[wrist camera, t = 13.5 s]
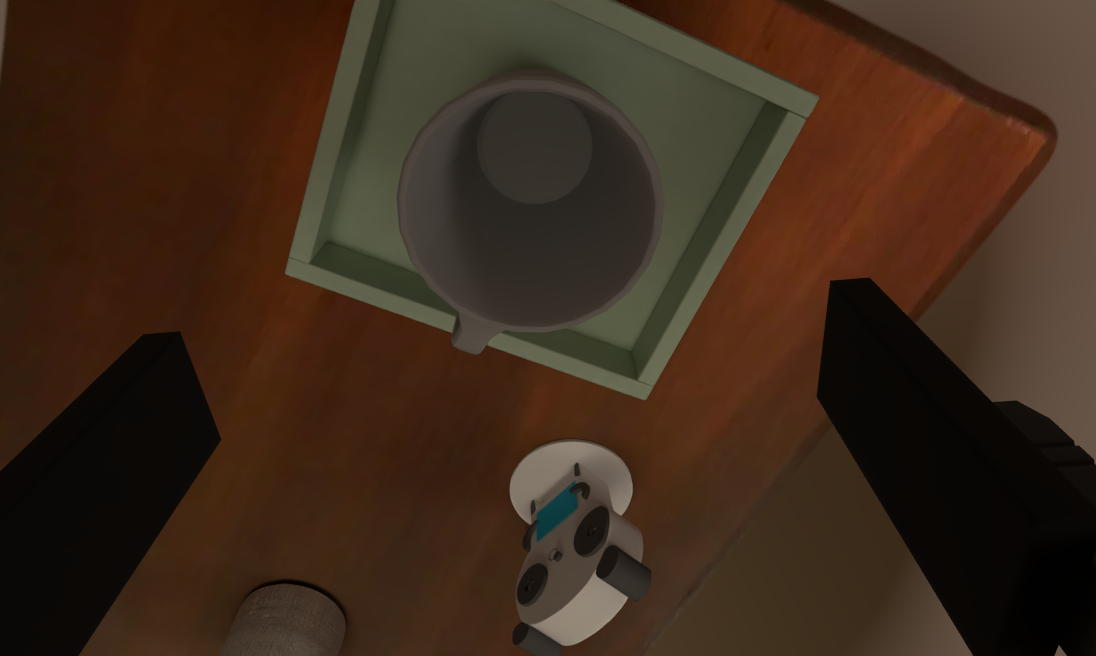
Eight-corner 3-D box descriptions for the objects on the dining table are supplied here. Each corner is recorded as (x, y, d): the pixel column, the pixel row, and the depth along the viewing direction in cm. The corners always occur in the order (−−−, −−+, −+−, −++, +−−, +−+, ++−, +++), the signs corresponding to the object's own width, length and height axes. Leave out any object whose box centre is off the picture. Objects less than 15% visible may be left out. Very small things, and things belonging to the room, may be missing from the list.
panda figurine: (573, 412, 61) (580, 540, 48) (662, 481, 65) (692, 616, 51) (484, 491, 65) (469, 629, 52) (573, 551, 69) (580, 694, 56)
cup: (667, 92, 26) (715, 148, 19) (559, 309, 31) (563, 425, 23) (478, 2, 25) (449, 24, 17) (392, 244, 29) (339, 345, 22)
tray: (401, 132, 50) (282, 279, 27) (466, -80, 43) (383, -114, 21) (601, 212, 52) (643, 405, 30) (689, 24, 46) (824, 91, 24)
